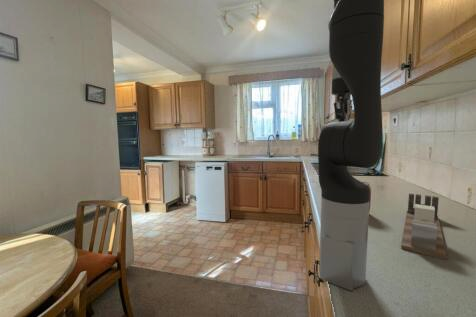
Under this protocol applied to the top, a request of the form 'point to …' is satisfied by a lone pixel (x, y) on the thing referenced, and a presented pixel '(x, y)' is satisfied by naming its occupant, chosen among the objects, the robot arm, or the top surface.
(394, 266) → the top surface
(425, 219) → the sleeve
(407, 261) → the top surface
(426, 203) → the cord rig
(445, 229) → the top surface
